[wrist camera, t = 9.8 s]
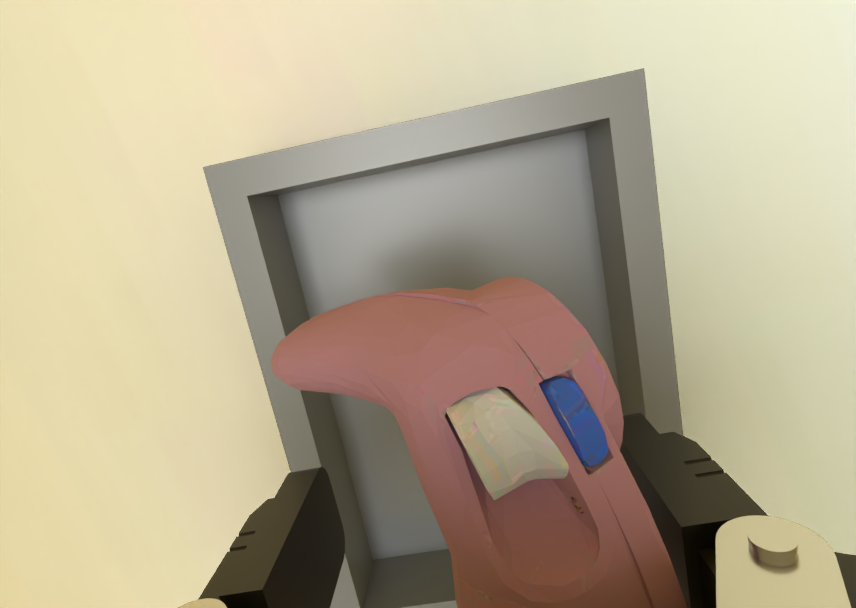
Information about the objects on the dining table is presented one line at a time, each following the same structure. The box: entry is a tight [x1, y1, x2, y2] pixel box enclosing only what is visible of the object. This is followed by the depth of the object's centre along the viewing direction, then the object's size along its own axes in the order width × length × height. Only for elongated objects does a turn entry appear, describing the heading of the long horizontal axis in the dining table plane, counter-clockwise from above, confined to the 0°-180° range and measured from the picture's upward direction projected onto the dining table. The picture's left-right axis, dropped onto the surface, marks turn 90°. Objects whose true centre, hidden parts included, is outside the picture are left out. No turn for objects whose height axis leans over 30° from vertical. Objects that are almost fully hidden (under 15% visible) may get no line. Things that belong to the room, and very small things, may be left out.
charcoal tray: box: [203, 68, 683, 608], centre depth 17 cm, size 12×16×4 cm
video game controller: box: [271, 277, 688, 608], centre depth 9 cm, size 10×5×7 cm, turn 20°
